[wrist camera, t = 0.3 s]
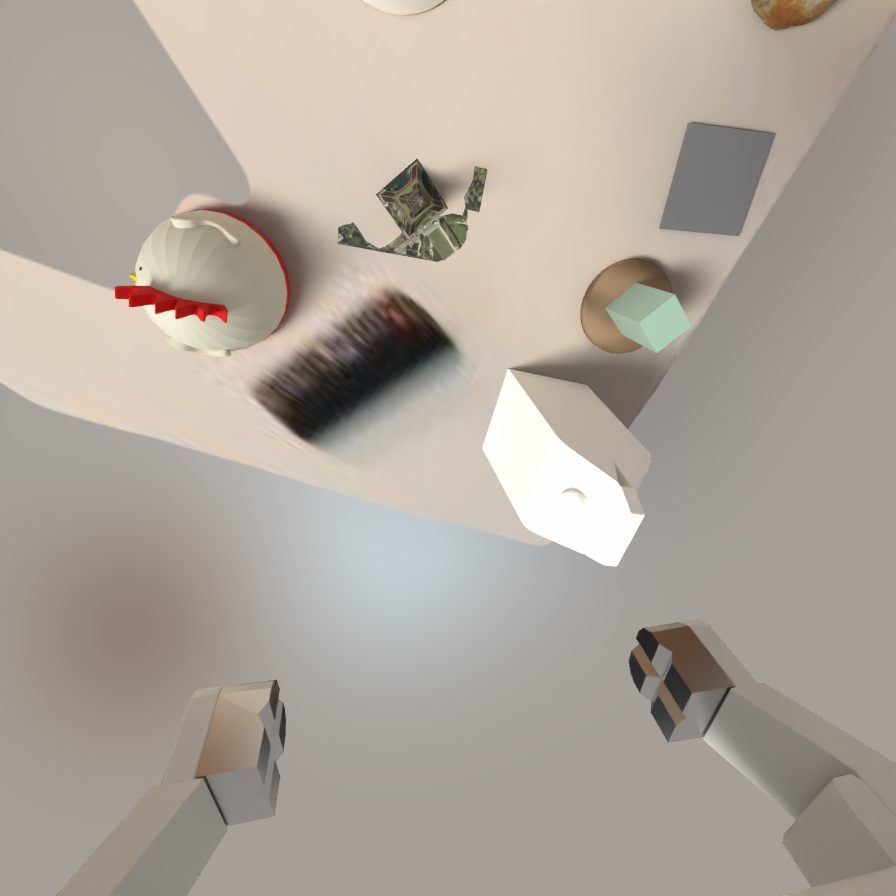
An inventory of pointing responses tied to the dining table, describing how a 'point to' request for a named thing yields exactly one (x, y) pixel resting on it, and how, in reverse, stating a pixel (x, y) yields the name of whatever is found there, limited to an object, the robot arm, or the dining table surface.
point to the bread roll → (790, 11)
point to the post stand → (609, 289)
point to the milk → (567, 464)
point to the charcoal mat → (715, 179)
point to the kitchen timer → (210, 283)
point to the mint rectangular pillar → (649, 316)
